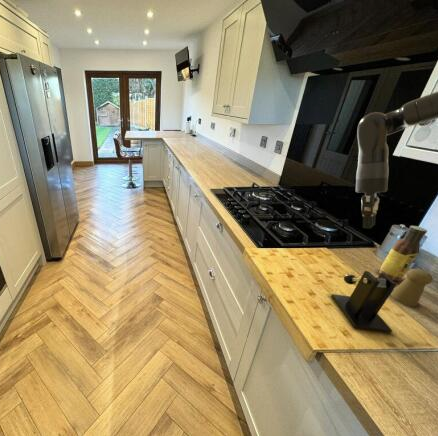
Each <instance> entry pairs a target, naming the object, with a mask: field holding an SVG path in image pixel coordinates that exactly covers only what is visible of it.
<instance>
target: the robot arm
mask: <svg viewBox="0 0 438 436" xmlns="http://www.w3.org/2000/svg"><path fill="white" fill-rule="evenodd" d="M436 119H438V91H435V92H432V93H430V94H427V95H424V96H421V97H418V98H416V99H413V100H411V101H408V102H406V103H404V104H402V106H401V107H400V108H396V109H395V110H392V111H389V112H387V113H383V112H378V111H374V112H369V113H368V114H366V115H364V116H363V117H362V118H360V121H359V122H358V125H357V127H356V128H357V130H356V133H357V134H356V137H357V145H358V157H357V160H358V161H357V169H356V175H355V192H356V193H357V194H359V193H364V195H362V197H361V200H360V201H361V206H360V207H361V216H362V228H363V229H370V230H371V229H372V228H373V227H374V226H375V225H376V215H377V212H378V210H379V204H380V197H379V196H378V195H377V193H386V192H387V191H388V183H389V146H388V144H387V136H390V135H392V134H395V133H397V132H400V131H402V130H405V129H407V128H409V127H412V126H413V127H414V126H416V125H420V124H423V123H428V122H430V121H433V120H436Z"/></svg>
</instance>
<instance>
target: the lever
mask: <svg viewBox="0 0 438 436" xmlns="http://www.w3.org/2000/svg"><path fill="white" fill-rule="evenodd" d="M375 278H376V279H377V280H378V281H380V283H379V284H378V286H377V287H382V288H386V279H383V278H378V277H375ZM360 279H361V278H357V276H356V275H354V274H352V273H347V274H345V275H344V276H343V281H344V282H345V283H346V284H347V285H355V284H357V283H358V282H359V280H360Z"/></svg>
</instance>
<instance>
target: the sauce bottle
mask: <svg viewBox="0 0 438 436" xmlns="http://www.w3.org/2000/svg"><path fill="white" fill-rule="evenodd" d="M407 229H408V230H407V232H406V234H405V235H404V237H402V238H401V239H398V240H397V241H396V242H395V243H394V245H393V246H392V247H391V249H390V251H389V252H388V254H387V256H386V257H385V259H384V261H383V263H382V264H381V266H380V268H379V269H378V273H379V274H380V273H385V274H386V275H387V276H388V277H389V278H391V279H392V280H393V281H394V282H396V281H397V282H399V281H401V280H402V278H404V276H405V275H406V274H407V272H408V271H409V270H410V268H411V266H412V265H413V263H414V262H415V260H416V259H417V257H418V255H419V254H420V244H421V241H422V239H423V237H424V236H425V235H426V234H427V232H428V229H426V228H425V227H424V228H423V227H421V226H418V225H409V228H407Z"/></svg>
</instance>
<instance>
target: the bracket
mask: <svg viewBox="0 0 438 436" xmlns="http://www.w3.org/2000/svg"><path fill="white" fill-rule="evenodd" d="M376 278H383V279H386V288H382V287H377V286H378V284H379V283H380V281H378V280H377V279H376ZM359 279H360V280H359V282H357V283H356V285H355V287H354V290H353V291H352V292H351V295H350V296H349V295H341V294H335V293H332V294H331V296H330V298H331V299H332V301H333V302H334V303H335V304H336V306H337V307H338V309H339V310H340V311H341V313H342V314H343V315H344V317H345V318H346V319H347V321H348V322H349V323H350V326H352V328H353V329H357V330H363V331H370V332H377V333H384V334H390V335H391V334H392V332H393V329H392V328H391V327H390V326H389V325H388V324H387V323H386V322H385V321H384V320H383V318H382V317H381V316H380V314H378V313H379V312H380V310H381V309H382V307H383V306H384V305H385V303H386V302H387V300H388V299H389V297H390V296H391V293H392V292H393V291H394V290H395V289H396V287H397V285H398V284H397V283H396V281H395V280H392V279H391V278H389V277H388V276H387V275H386V274H385V273H379V275H378V277H376V276H375V275H374V274H373V273H371V272H370V271H368V270H364V272H363V273H362V275H361V277H360V278H359Z"/></svg>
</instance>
